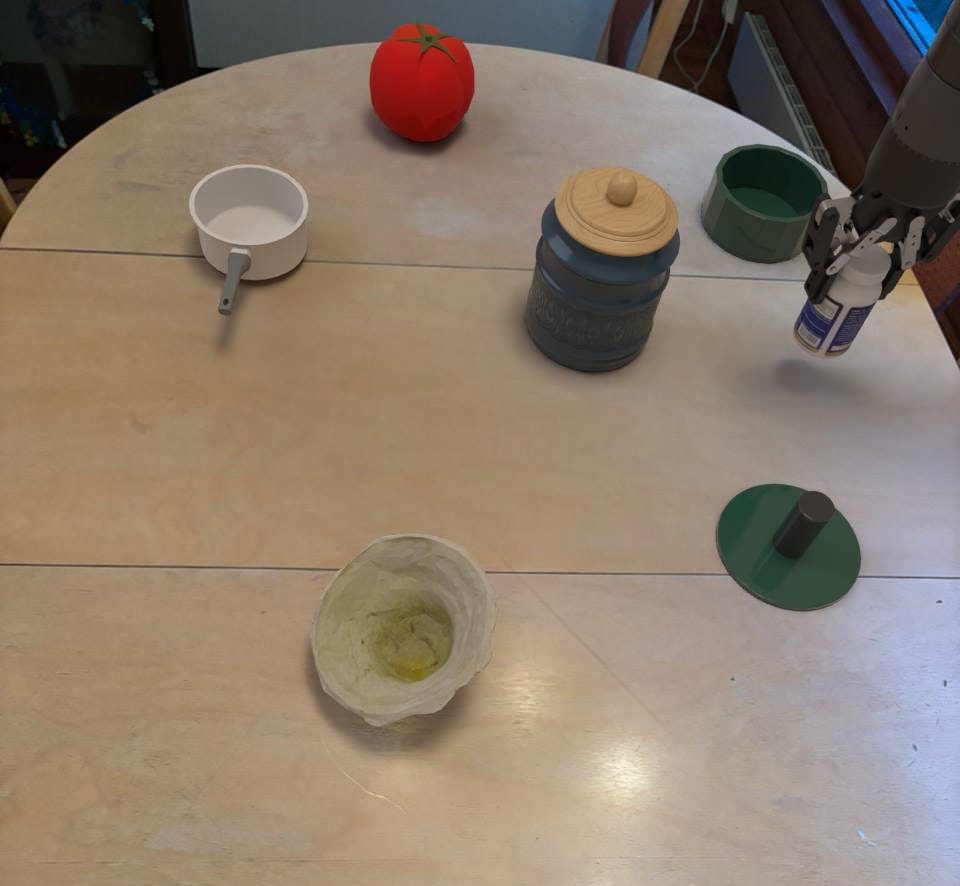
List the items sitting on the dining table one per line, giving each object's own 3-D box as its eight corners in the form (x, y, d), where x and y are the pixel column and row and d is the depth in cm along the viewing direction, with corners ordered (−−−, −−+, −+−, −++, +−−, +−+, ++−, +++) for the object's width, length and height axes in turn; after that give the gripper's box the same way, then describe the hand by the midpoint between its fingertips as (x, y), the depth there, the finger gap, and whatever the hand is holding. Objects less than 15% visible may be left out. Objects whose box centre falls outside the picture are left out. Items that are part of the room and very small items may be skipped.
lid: (777, 467, 92) (807, 419, 85) (884, 561, 88) (923, 518, 81) (684, 538, 87) (708, 493, 80) (793, 641, 83) (827, 601, 77)
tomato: (392, 167, 105) (393, 77, 96) (354, 103, 110) (352, 11, 101) (488, 146, 109) (499, 57, 99) (448, 85, 113) (455, -5, 104)
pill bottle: (848, 324, 93) (897, 241, 85) (848, 366, 91) (899, 285, 82) (791, 312, 93) (834, 228, 84) (789, 354, 91) (834, 272, 82)
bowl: (288, 615, 79) (277, 551, 70) (442, 564, 83) (450, 497, 74) (352, 773, 74) (349, 726, 65) (514, 711, 77) (532, 658, 68)
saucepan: (171, 346, 91) (160, 302, 86) (209, 205, 100) (200, 157, 95) (292, 359, 92) (287, 316, 87) (318, 218, 101) (315, 171, 96)
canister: (623, 274, 101) (668, 120, 86) (665, 365, 96) (722, 218, 80) (508, 289, 99) (533, 132, 83) (545, 383, 93) (579, 235, 78)
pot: (750, 172, 111) (767, 130, 106) (830, 233, 108) (851, 192, 103) (679, 213, 107) (693, 171, 102) (760, 278, 103) (778, 238, 98)
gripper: (873, 162, 69) (785, 332, 84) (1044, 154, 72) (929, 320, 87) (837, 97, 73) (758, 271, 88) (1002, 91, 75) (898, 262, 90)
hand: (844, 295), depth 87 cm, fingers closed on pill bottle, 5 cm apart
